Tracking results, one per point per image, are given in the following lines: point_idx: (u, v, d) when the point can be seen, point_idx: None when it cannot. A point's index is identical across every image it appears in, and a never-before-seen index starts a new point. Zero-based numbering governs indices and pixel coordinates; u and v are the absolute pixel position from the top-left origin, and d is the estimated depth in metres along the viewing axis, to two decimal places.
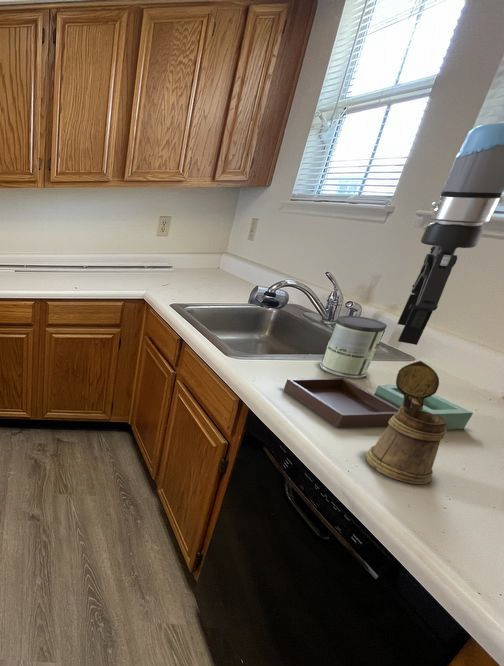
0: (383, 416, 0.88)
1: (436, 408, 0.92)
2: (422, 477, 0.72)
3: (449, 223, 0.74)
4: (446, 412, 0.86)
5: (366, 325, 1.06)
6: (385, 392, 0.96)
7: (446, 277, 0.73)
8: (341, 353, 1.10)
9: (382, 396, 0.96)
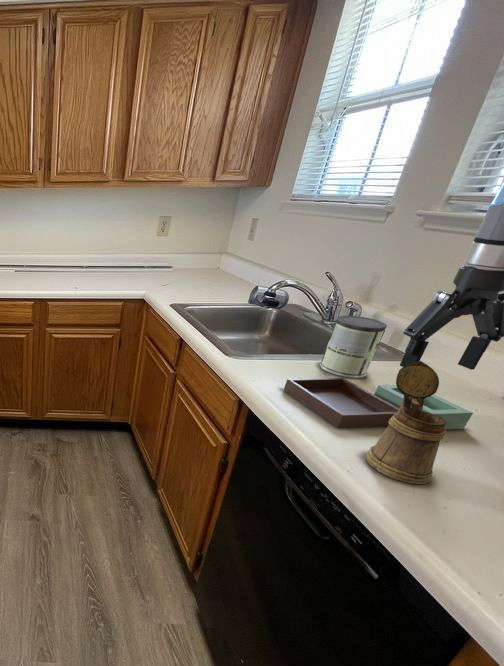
0: (383, 416, 0.88)
1: (436, 408, 0.92)
2: (422, 477, 0.72)
3: (468, 265, 0.80)
4: (446, 412, 0.86)
5: (366, 325, 1.06)
6: (385, 392, 0.96)
7: (436, 311, 0.82)
8: (341, 353, 1.10)
9: (382, 396, 0.96)
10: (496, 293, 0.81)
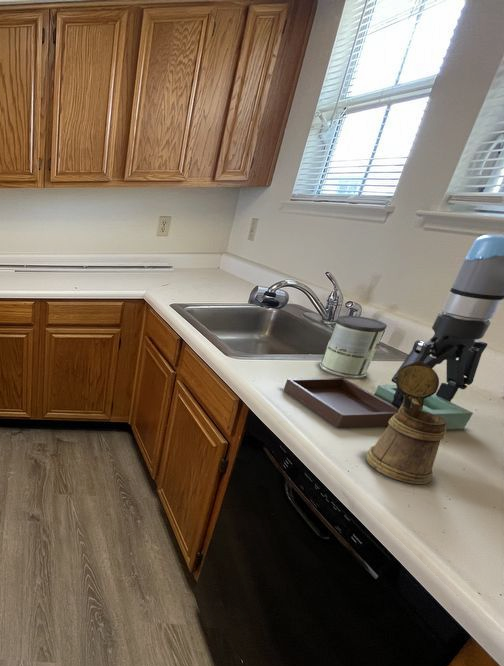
0: (383, 416, 0.88)
1: (436, 408, 0.92)
2: (422, 477, 0.72)
3: (445, 314, 0.85)
4: (446, 412, 0.86)
5: (366, 325, 1.06)
6: (385, 392, 0.96)
7: (417, 361, 0.86)
8: (341, 353, 1.10)
9: (382, 396, 0.96)
10: (472, 340, 0.85)
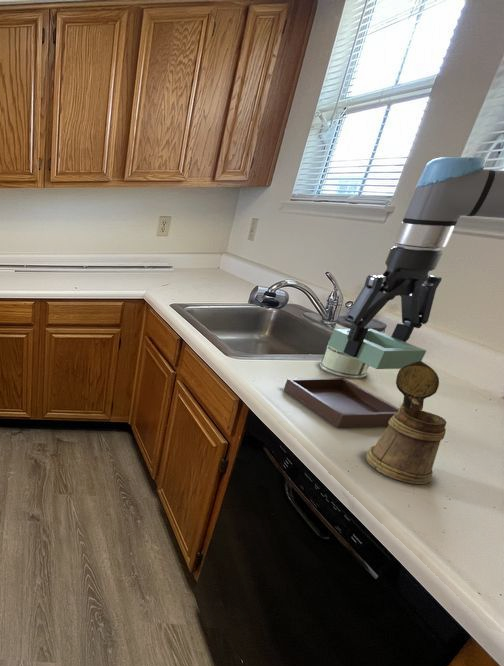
0: (383, 416, 0.88)
1: None
2: (422, 477, 0.72)
3: (397, 246, 0.81)
4: (398, 350, 0.83)
5: (366, 325, 1.06)
6: (340, 335, 0.92)
7: (368, 296, 0.83)
8: (341, 353, 1.10)
9: (337, 339, 0.93)
10: (425, 274, 0.82)
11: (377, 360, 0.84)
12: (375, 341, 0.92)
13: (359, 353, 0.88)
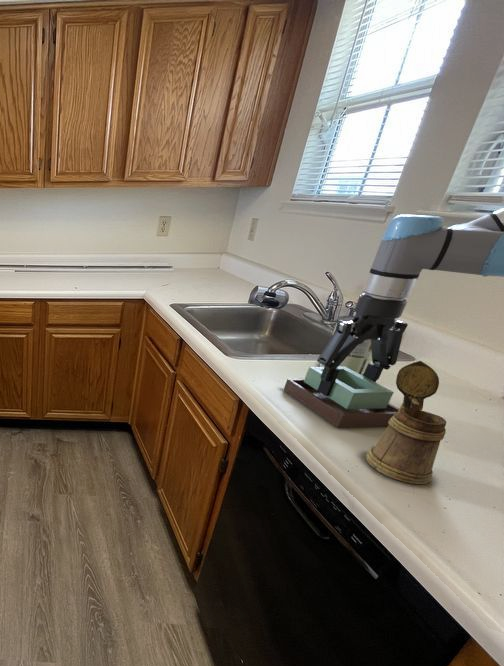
0: (383, 416, 0.88)
1: (362, 388, 0.93)
2: (422, 477, 0.72)
3: (365, 294, 0.86)
4: (367, 391, 0.88)
5: None
6: (315, 373, 0.97)
7: (339, 341, 0.88)
8: None
9: (312, 377, 0.98)
10: (392, 320, 0.86)
11: (347, 401, 0.89)
12: (347, 379, 0.97)
13: (331, 392, 0.93)
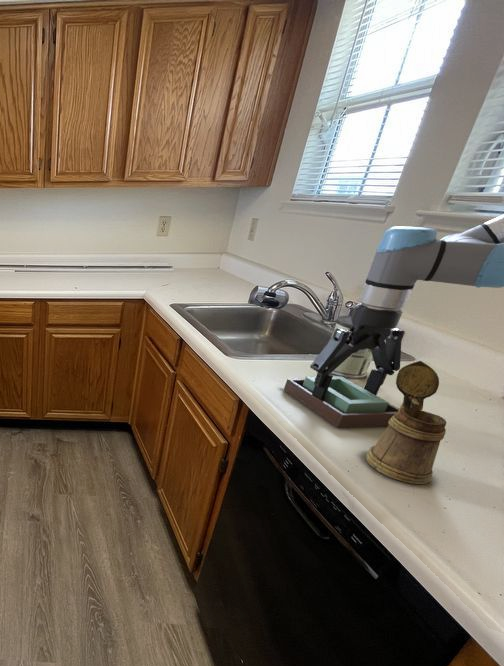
0: (383, 416, 0.88)
1: (358, 398, 0.94)
2: (422, 477, 0.72)
3: (361, 304, 0.87)
4: (363, 402, 0.89)
5: None
6: (311, 383, 0.98)
7: (334, 348, 0.88)
8: None
9: (309, 387, 0.99)
10: (388, 330, 0.87)
11: (343, 411, 0.90)
12: (343, 389, 0.98)
13: (327, 402, 0.94)
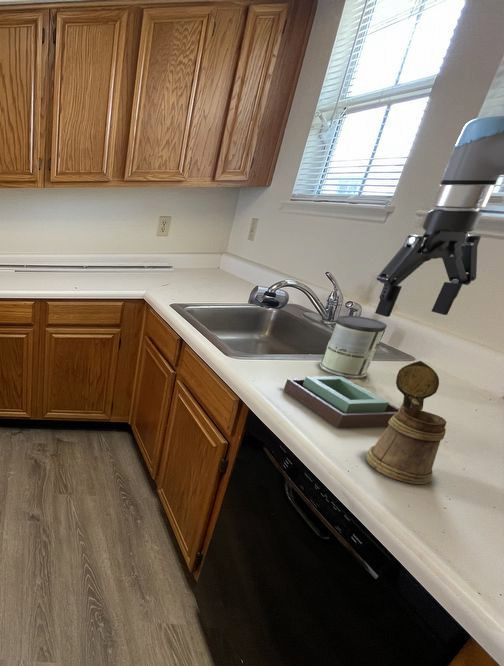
0: (383, 416, 0.88)
1: (358, 398, 0.94)
2: (422, 477, 0.72)
3: (436, 208, 0.82)
4: (363, 402, 0.89)
5: (366, 325, 1.06)
6: (311, 383, 0.98)
7: (407, 254, 0.83)
8: (341, 353, 1.10)
9: (309, 387, 0.99)
10: (464, 236, 0.83)
11: (343, 411, 0.90)
12: (343, 389, 0.98)
13: (327, 402, 0.94)
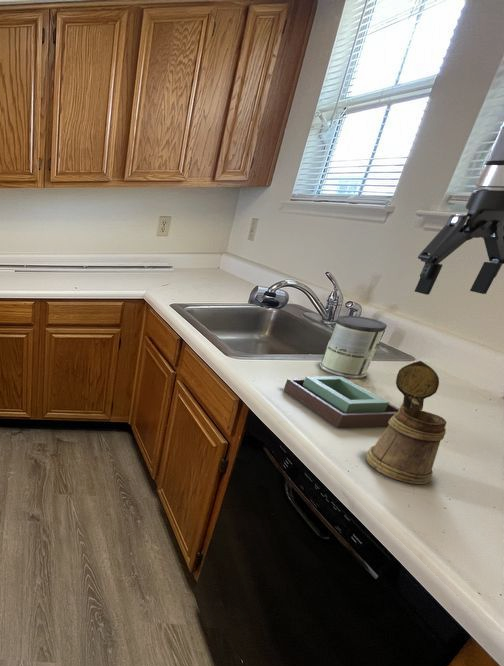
0: (383, 416, 0.88)
1: (358, 398, 0.94)
2: (422, 477, 0.72)
3: (480, 188, 0.85)
4: (363, 402, 0.89)
5: (366, 325, 1.06)
6: (311, 383, 0.98)
7: (449, 233, 0.86)
8: (341, 353, 1.10)
9: (309, 387, 0.99)
10: None
11: (343, 411, 0.90)
12: (343, 389, 0.98)
13: (327, 402, 0.94)
